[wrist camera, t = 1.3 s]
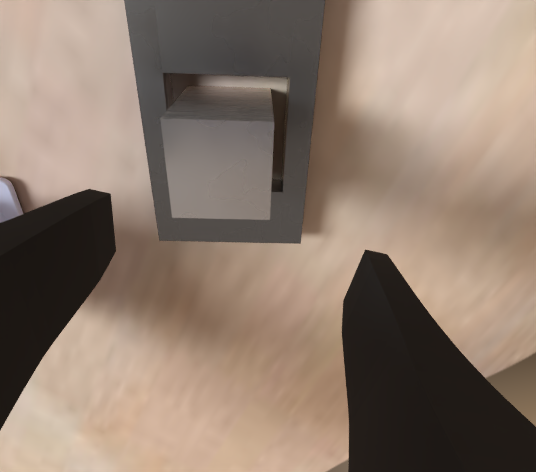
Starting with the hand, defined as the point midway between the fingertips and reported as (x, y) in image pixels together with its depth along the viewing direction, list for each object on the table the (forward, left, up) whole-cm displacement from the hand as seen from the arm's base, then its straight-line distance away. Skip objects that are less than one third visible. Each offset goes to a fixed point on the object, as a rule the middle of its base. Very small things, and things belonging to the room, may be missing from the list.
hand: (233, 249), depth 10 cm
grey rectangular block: (-1, 0, -11) cm, 11 cm away
